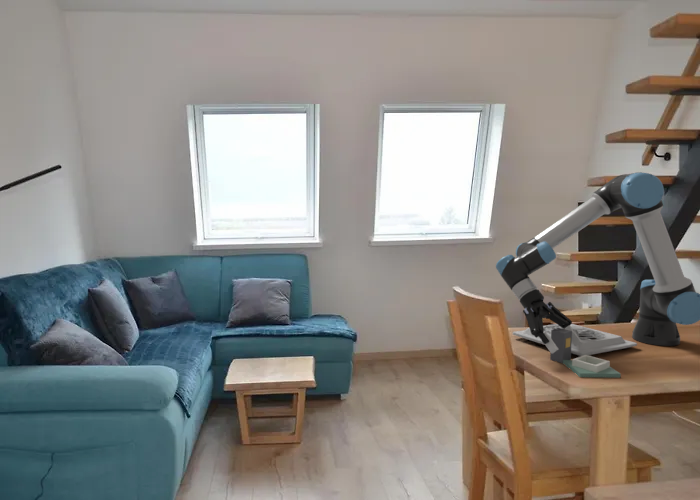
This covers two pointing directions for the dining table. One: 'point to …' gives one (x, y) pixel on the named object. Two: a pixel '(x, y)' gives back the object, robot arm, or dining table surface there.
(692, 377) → the dining table surface
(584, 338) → the ventilation fan
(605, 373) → the header board
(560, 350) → the plug
